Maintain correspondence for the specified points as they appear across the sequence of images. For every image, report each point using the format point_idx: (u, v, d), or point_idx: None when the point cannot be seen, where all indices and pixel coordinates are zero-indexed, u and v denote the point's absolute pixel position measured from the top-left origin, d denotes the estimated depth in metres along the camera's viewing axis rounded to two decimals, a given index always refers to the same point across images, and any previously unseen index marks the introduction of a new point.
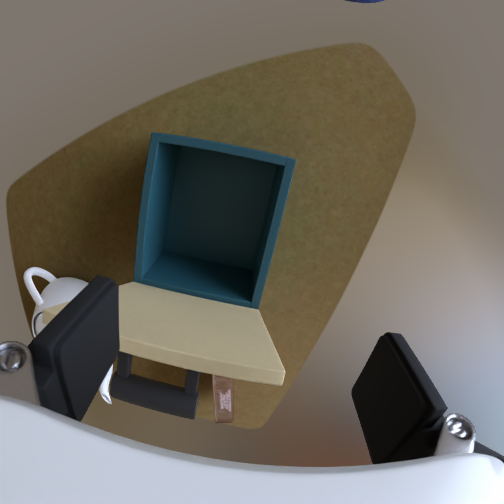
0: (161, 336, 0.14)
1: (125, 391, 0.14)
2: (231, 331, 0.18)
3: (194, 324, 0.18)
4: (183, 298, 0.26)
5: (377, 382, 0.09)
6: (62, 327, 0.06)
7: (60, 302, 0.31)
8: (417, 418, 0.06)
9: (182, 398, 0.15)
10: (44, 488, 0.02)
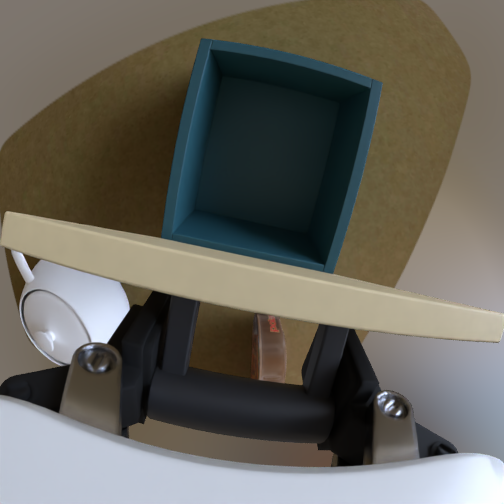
0: (284, 269, 0.07)
1: (182, 404, 0.07)
2: (356, 281, 0.11)
3: None
4: (240, 255, 0.18)
5: None
6: (148, 325, 0.07)
7: (55, 277, 0.24)
8: (347, 391, 0.07)
9: (307, 406, 0.07)
10: (44, 488, 0.02)
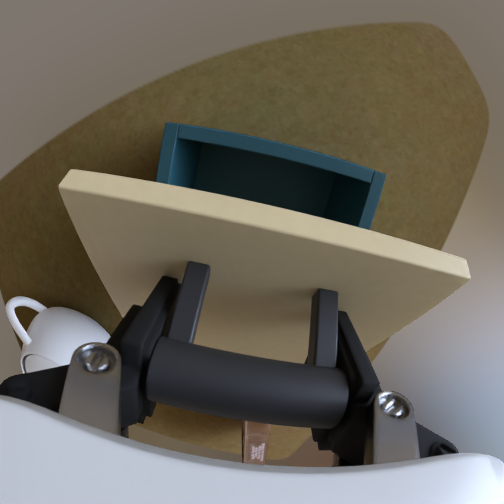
0: None
1: (189, 361, 0.07)
2: None
3: None
4: None
5: None
6: (147, 325, 0.07)
7: (51, 344, 0.23)
8: None
9: (317, 370, 0.07)
10: (44, 488, 0.02)
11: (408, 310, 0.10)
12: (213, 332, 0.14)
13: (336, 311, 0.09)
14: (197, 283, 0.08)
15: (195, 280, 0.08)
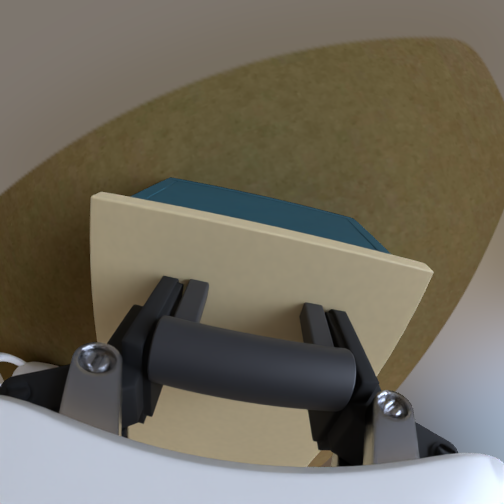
0: None
1: (197, 325, 0.07)
2: None
3: None
4: None
5: None
6: (148, 325, 0.07)
7: None
8: None
9: (318, 345, 0.08)
10: (44, 488, 0.02)
11: (388, 325, 0.11)
12: (200, 395, 0.13)
13: (323, 316, 0.10)
14: (199, 291, 0.09)
15: (197, 289, 0.09)
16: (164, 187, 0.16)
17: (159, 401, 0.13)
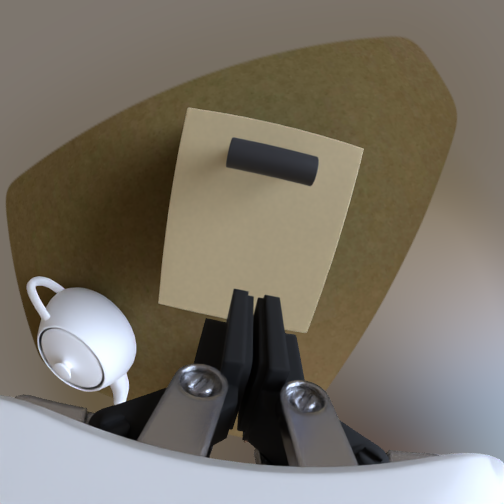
0: None
1: (248, 140, 0.16)
2: None
3: None
4: None
5: None
6: (241, 342, 0.07)
7: (70, 317, 0.27)
8: None
9: None
10: (44, 488, 0.02)
11: (343, 179, 0.20)
12: (233, 235, 0.21)
13: None
14: None
15: None
16: None
17: (204, 247, 0.22)
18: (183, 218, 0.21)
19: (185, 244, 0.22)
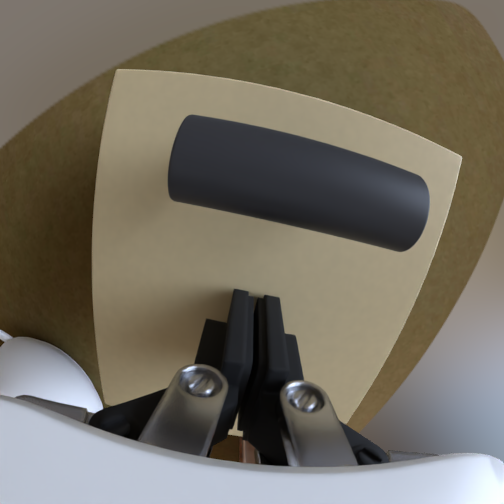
0: None
1: None
2: None
3: None
4: None
5: None
6: (241, 342, 0.07)
7: (14, 382, 0.17)
8: None
9: None
10: (44, 488, 0.02)
11: (428, 215, 0.09)
12: None
13: None
14: None
15: None
16: None
17: (160, 338, 0.11)
18: (117, 288, 0.10)
19: (128, 331, 0.11)
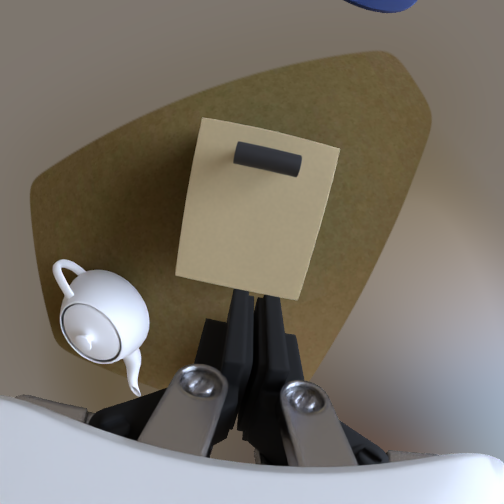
0: None
1: (250, 143, 0.22)
2: None
3: None
4: None
5: None
6: (241, 342, 0.07)
7: (93, 294, 0.33)
8: None
9: None
10: (44, 488, 0.02)
11: (324, 173, 0.26)
12: (237, 217, 0.27)
13: None
14: None
15: None
16: None
17: (214, 227, 0.27)
18: (198, 204, 0.27)
19: (199, 225, 0.27)
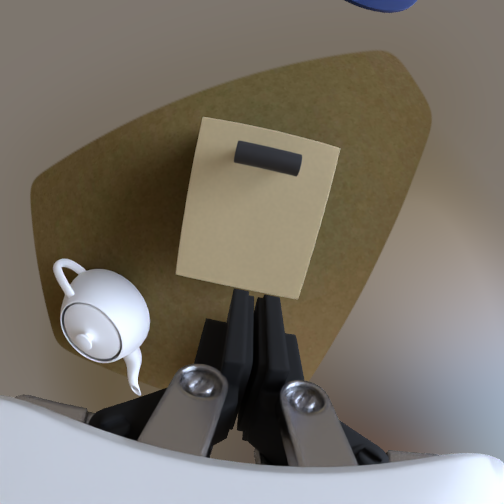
0: None
1: (250, 143, 0.22)
2: None
3: None
4: None
5: None
6: (241, 342, 0.07)
7: (93, 293, 0.33)
8: None
9: None
10: (44, 488, 0.02)
11: (324, 172, 0.26)
12: (238, 216, 0.27)
13: None
14: None
15: None
16: None
17: (214, 226, 0.28)
18: (198, 203, 0.27)
19: (200, 224, 0.27)
